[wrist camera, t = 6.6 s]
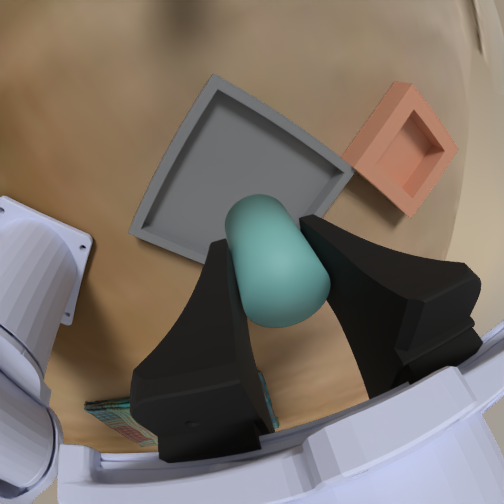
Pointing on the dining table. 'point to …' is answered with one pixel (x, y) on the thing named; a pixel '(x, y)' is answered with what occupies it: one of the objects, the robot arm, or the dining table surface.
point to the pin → (273, 263)
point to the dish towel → (121, 421)
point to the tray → (233, 171)
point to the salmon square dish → (402, 148)
